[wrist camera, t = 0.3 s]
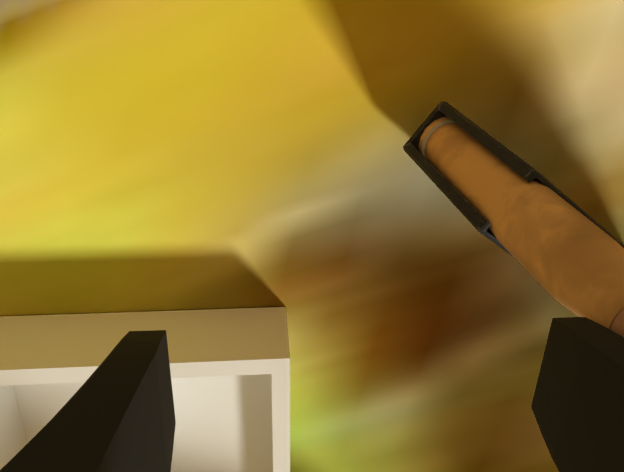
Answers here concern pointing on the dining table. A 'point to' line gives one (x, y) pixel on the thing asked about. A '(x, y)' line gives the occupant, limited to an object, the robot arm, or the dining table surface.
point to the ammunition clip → (524, 215)
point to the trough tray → (184, 376)
